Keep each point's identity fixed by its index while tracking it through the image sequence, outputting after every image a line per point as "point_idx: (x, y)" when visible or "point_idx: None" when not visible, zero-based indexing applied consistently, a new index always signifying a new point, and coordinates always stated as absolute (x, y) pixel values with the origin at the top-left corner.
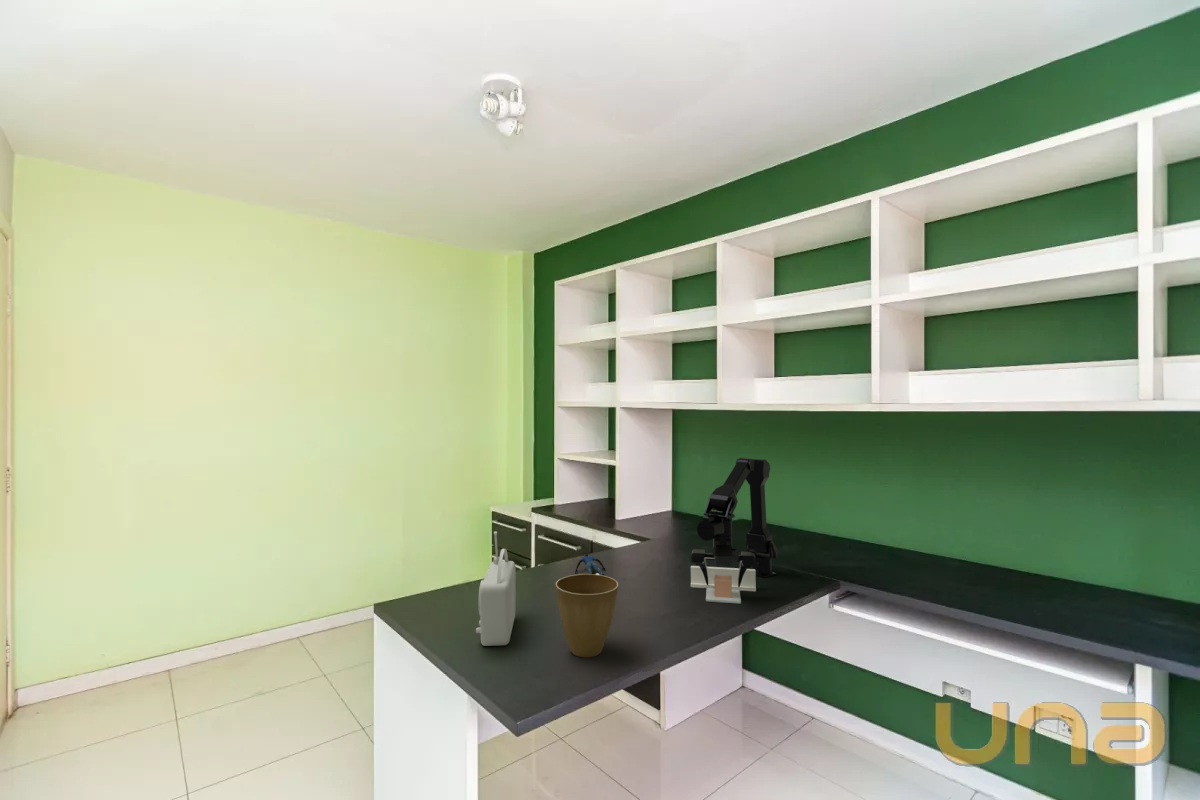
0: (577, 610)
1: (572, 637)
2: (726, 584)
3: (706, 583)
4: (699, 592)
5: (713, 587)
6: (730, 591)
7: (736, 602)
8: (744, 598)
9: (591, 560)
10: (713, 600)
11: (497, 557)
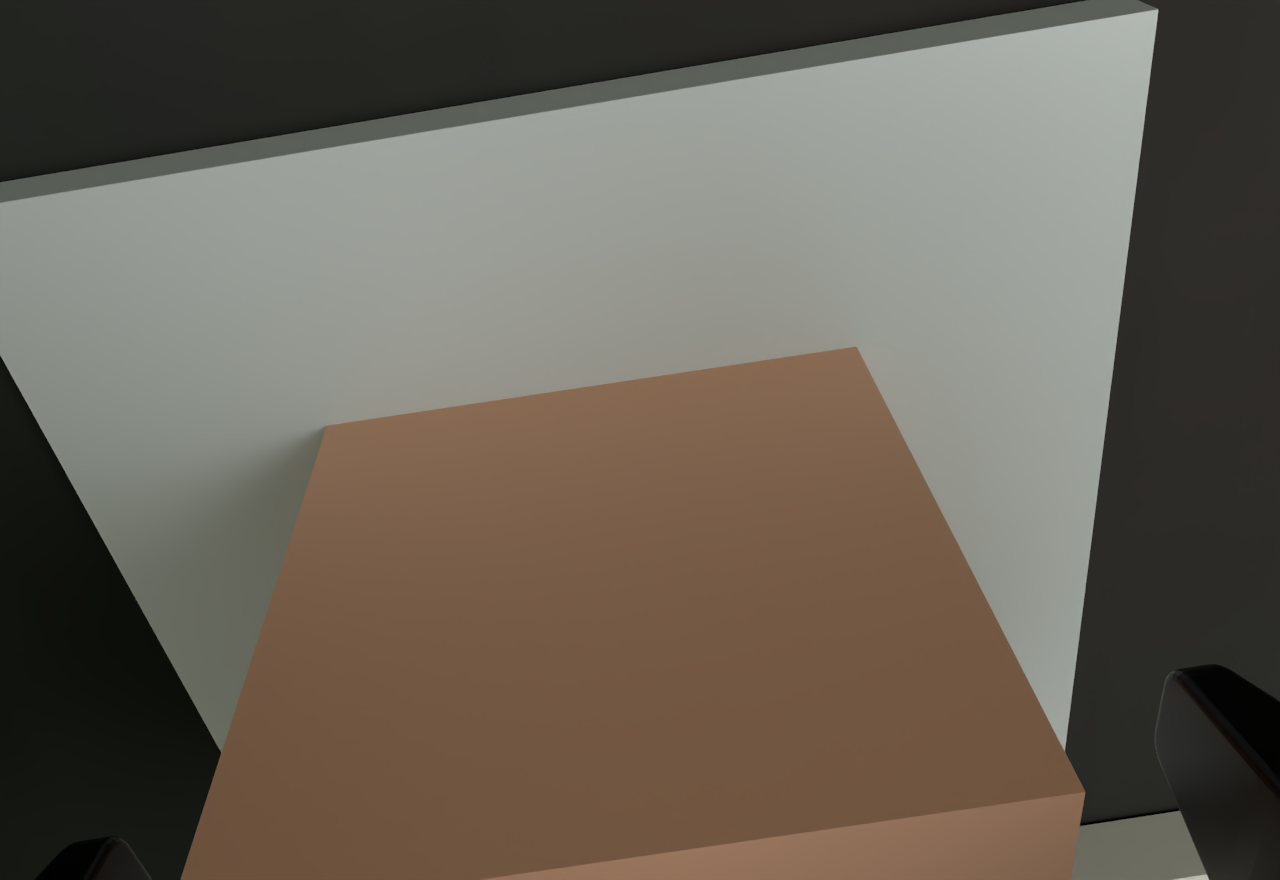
0: None
1: None
2: (453, 721)
3: (1270, 699)
4: (1227, 592)
5: None
6: (327, 543)
7: (90, 174)
8: (62, 604)
9: None
10: (876, 47)
11: None
